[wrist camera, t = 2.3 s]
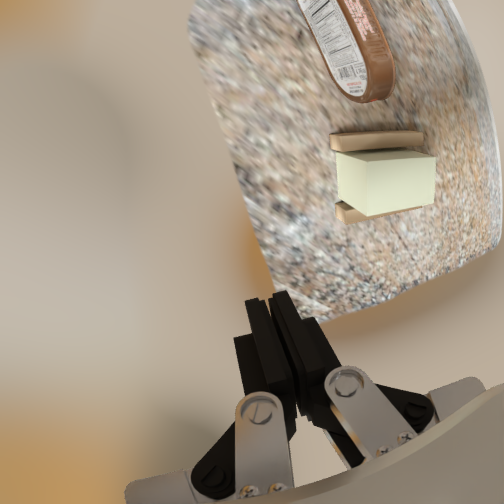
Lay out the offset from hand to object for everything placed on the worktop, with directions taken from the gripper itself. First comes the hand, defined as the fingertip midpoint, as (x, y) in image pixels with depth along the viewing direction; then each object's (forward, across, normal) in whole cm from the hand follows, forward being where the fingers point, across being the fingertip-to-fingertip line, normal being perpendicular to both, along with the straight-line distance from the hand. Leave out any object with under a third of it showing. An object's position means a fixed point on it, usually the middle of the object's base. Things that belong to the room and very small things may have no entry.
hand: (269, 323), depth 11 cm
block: (+18, -16, 0) cm, 24 cm away
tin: (+18, -12, -16) cm, 26 cm away
